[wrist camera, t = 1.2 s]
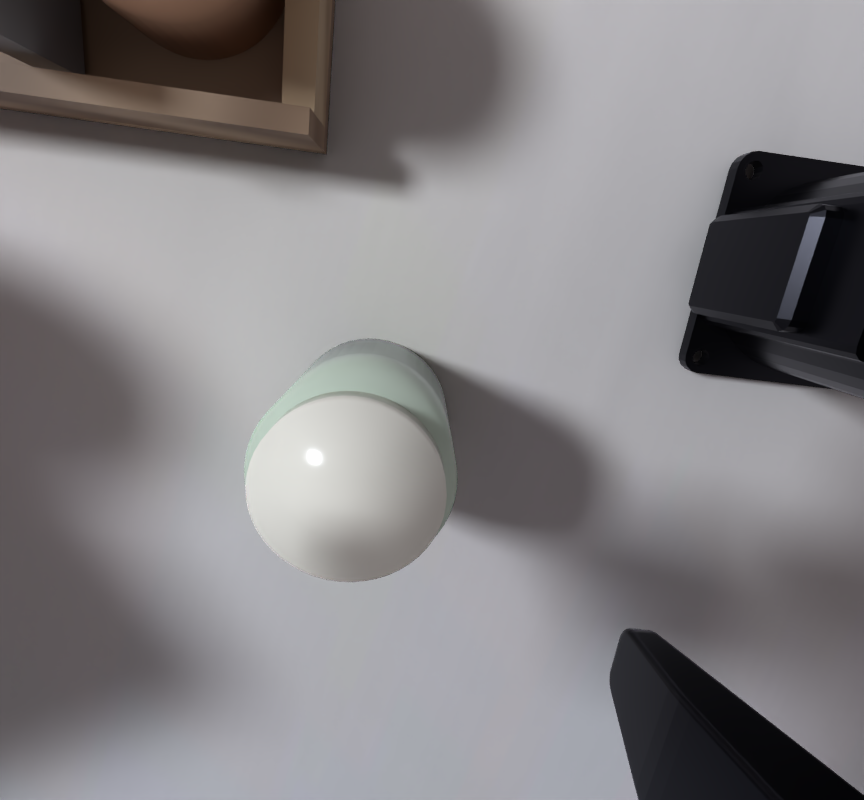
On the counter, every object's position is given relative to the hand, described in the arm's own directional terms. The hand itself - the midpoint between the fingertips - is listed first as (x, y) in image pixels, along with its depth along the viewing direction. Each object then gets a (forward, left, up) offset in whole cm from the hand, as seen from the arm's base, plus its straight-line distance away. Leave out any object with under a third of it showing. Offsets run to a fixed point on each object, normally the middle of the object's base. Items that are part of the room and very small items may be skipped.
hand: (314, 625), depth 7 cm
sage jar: (0, 0, -10) cm, 10 cm away
